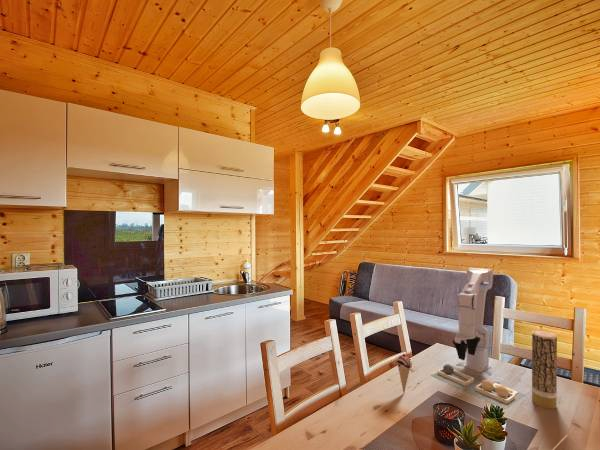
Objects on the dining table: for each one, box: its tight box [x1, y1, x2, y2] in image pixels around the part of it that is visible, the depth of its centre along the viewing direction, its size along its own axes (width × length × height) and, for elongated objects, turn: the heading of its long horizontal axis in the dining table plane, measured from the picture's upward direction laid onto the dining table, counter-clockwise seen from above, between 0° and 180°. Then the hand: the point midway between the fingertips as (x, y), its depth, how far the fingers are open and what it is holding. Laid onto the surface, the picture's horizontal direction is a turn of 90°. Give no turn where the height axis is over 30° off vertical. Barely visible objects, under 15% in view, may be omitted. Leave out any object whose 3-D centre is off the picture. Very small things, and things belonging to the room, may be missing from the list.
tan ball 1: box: [481, 379, 494, 392], centre depth 118 cm, size 4×4×4 cm
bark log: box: [531, 329, 558, 410], centre depth 109 cm, size 7×7×25 cm
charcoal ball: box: [442, 364, 454, 375], centre depth 130 cm, size 4×4×4 cm
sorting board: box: [430, 365, 526, 410], centre depth 122 cm, size 16×28×2 cm, turn 34°
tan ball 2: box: [496, 384, 509, 398], centre depth 113 cm, size 4×4×4 cm
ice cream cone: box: [395, 353, 413, 393], centre depth 117 cm, size 6×6×15 cm
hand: (466, 356), depth 126 cm, fingers open, 7 cm apart
